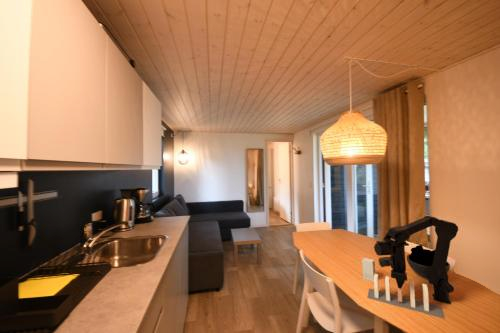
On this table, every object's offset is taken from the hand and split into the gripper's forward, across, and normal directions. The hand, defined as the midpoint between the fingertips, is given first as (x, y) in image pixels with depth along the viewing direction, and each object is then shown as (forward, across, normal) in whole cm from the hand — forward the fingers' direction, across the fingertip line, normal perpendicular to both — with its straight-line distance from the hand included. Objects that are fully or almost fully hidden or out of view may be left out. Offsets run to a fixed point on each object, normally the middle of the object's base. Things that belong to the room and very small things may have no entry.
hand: (399, 285), depth 107 cm
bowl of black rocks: (+8, -36, +14) cm, 39 cm away
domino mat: (+8, 0, +1) cm, 8 cm away
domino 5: (+8, 0, +10) cm, 13 cm away
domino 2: (+8, 0, -5) cm, 9 cm away
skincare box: (+8, -16, -15) cm, 23 cm away
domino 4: (+8, 0, +5) cm, 9 cm away
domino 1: (+8, 0, -10) cm, 13 cm away
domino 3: (+6, 0, 0) cm, 7 cm away
